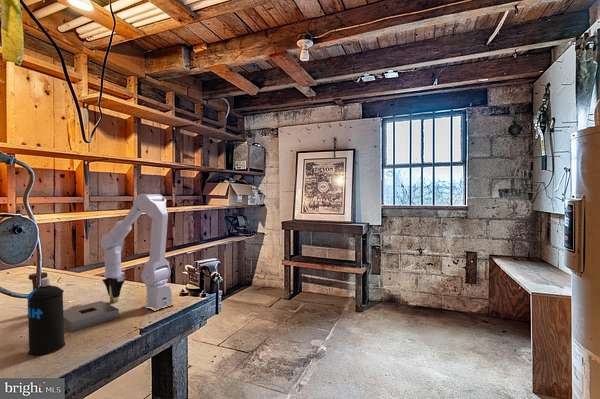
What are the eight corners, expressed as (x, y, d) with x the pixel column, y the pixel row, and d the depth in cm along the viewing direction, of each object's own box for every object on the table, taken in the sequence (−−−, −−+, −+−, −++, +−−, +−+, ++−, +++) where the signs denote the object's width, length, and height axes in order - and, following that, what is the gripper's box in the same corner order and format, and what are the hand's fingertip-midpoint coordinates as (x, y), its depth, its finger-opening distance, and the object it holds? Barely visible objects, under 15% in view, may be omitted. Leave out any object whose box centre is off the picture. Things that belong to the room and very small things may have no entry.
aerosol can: (61, 339, 93) (59, 273, 93) (69, 347, 88) (67, 277, 88) (25, 350, 87) (22, 279, 87) (31, 359, 82) (29, 284, 81)
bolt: (36, 317, 112) (35, 276, 112) (25, 316, 113) (24, 275, 113) (52, 311, 118) (51, 272, 118) (41, 310, 119) (40, 271, 119)
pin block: (118, 317, 110) (118, 309, 110) (71, 331, 99) (71, 322, 99) (101, 308, 120) (101, 300, 119) (56, 320, 108) (56, 311, 108)
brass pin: (119, 301, 127) (119, 280, 127) (111, 303, 125) (111, 281, 125) (116, 300, 129) (115, 279, 129) (108, 302, 126) (108, 280, 126)
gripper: (131, 263, 125) (132, 296, 125) (116, 259, 134) (117, 290, 134) (112, 266, 120) (113, 301, 120) (97, 262, 129) (98, 295, 129)
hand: (113, 296), depth 127 cm, fingers open, 4 cm apart
